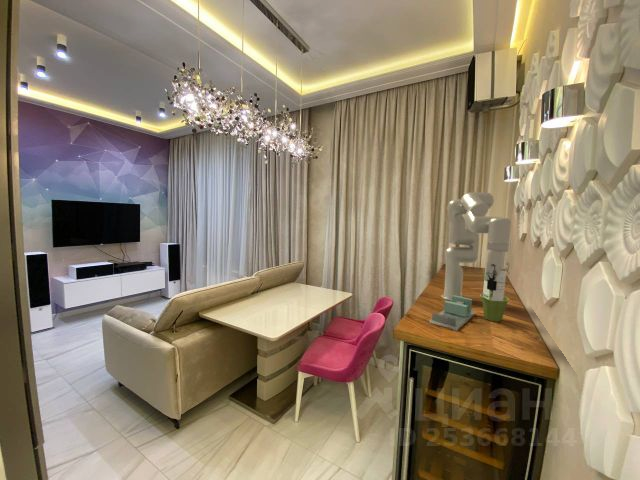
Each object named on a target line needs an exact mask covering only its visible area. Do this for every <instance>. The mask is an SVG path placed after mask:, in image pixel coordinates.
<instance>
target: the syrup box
mask: <svg viewBox="0 0 640 480" xmlns="http://www.w3.org/2000/svg"><path fill="white" fill-rule="evenodd" d="M507 268H508V267H502V268H501V272H500V274H499V275H497V278H496V281H497V286H496V290H495V291H494V290H489V289H487V282H488V276H489V273H488V274H486V272H485V271H486V268H485V269H484V279H483V280H484V281H483V290H482V291H483V292H482V294H483V297H485V298H486V299H488V300H490V301H503V298H504V296H505V287H506V278H507ZM494 273H495V274H496V272H495V270H494ZM494 278H495V277H494Z"/></svg>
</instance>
